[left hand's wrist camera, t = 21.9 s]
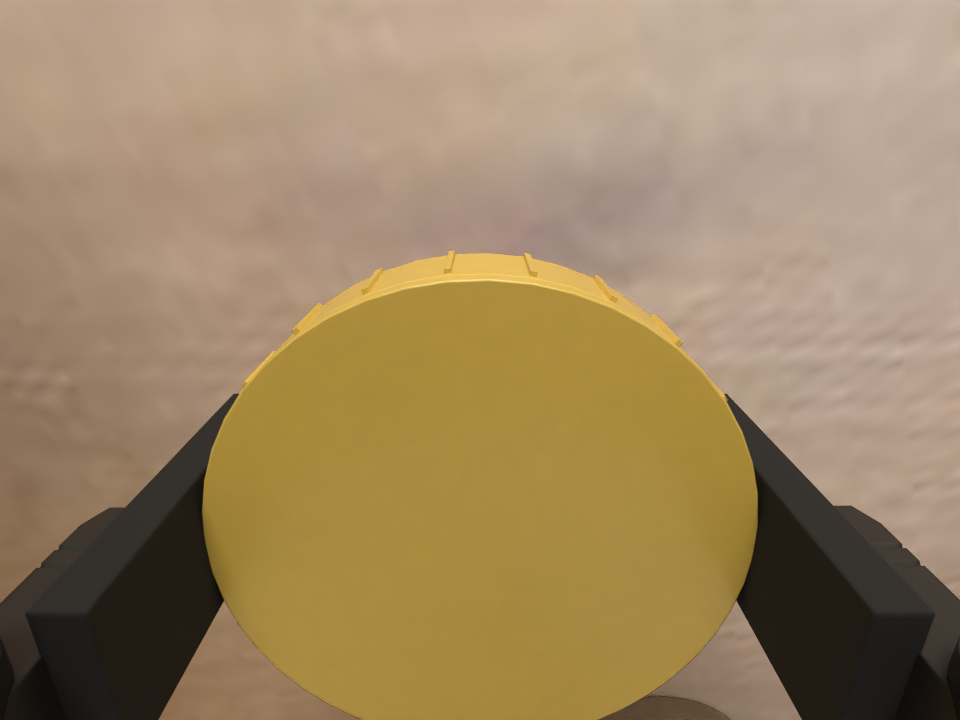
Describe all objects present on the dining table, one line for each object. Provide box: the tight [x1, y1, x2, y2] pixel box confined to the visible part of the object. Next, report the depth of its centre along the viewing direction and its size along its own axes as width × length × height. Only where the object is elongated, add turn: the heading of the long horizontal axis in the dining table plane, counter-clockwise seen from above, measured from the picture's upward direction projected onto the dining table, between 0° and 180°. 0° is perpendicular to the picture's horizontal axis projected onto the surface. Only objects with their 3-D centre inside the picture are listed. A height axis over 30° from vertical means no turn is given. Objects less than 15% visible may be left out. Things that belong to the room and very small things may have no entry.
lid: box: [202, 251, 758, 720], centre depth 11 cm, size 10×10×2 cm
